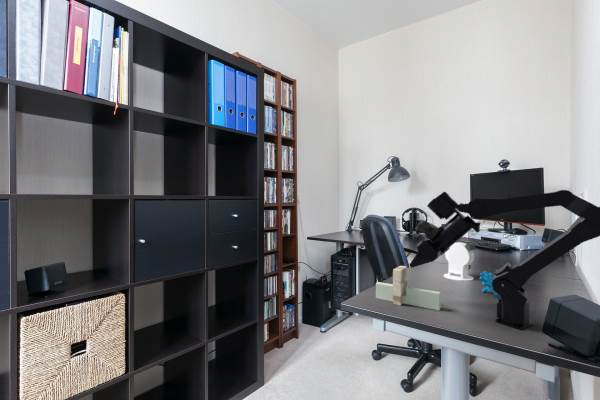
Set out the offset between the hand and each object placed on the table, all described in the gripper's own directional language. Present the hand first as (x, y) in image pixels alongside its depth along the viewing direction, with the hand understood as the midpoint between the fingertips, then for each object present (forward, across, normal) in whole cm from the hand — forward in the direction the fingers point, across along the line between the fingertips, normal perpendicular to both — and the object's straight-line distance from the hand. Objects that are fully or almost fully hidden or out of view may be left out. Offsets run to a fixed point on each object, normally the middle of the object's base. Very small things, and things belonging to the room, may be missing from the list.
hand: (414, 263), depth 99 cm
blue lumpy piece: (-5, -27, +23) cm, 36 cm away
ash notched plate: (+12, 0, +6) cm, 14 cm away
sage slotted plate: (+11, 0, +7) cm, 13 cm away
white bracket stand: (+5, -45, +14) cm, 48 cm away
